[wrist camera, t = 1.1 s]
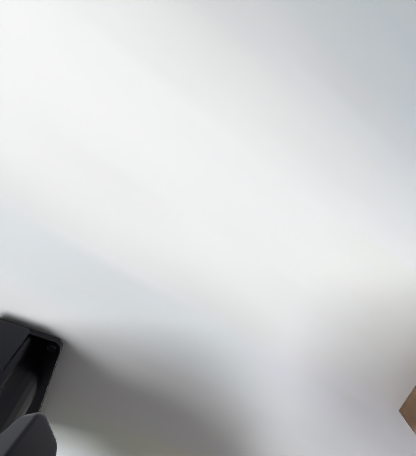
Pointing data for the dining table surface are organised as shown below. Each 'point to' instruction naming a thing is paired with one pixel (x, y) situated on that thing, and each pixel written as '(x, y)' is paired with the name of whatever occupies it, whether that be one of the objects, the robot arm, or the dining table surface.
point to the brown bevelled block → (410, 410)
